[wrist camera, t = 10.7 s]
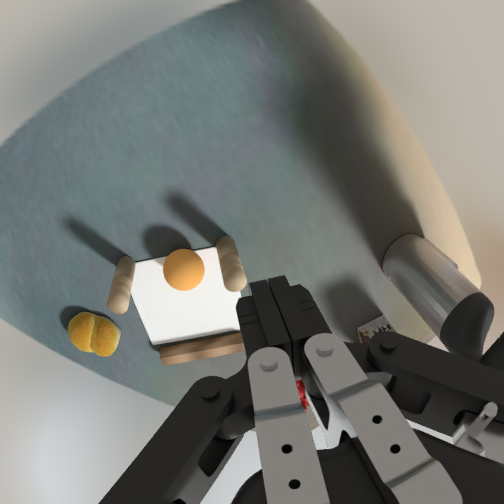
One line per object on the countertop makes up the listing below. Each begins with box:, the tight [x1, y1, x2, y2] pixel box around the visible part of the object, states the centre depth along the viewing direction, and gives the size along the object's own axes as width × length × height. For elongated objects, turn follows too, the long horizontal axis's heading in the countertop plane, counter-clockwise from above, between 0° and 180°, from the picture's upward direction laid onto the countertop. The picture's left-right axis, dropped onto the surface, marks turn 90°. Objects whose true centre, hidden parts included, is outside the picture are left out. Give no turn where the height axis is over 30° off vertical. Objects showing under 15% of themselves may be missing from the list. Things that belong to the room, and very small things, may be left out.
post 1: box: [107, 256, 136, 314], centre depth 39 cm, size 3×3×9 cm
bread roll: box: [68, 312, 121, 357], centre depth 46 cm, size 8×9×4 cm
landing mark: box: [131, 247, 241, 345], centre depth 47 cm, size 16×16×1 cm
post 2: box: [216, 236, 247, 292], centre depth 40 cm, size 3×3×9 cm
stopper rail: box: [160, 332, 245, 365], centre depth 52 cm, size 14×2×2 cm, turn 96°
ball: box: [163, 249, 205, 291], centre depth 41 cm, size 6×6×6 cm
